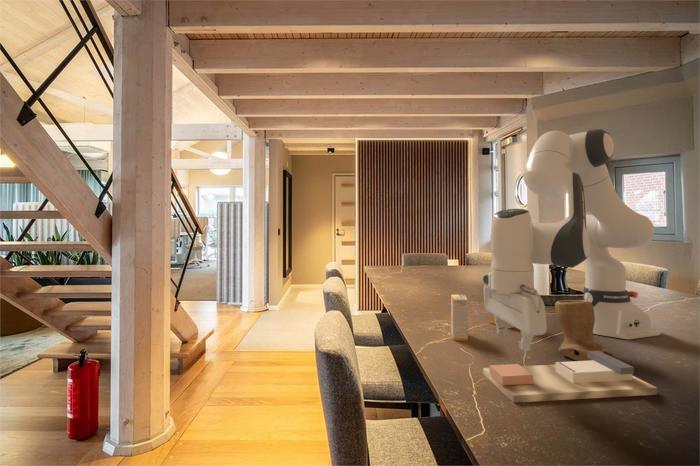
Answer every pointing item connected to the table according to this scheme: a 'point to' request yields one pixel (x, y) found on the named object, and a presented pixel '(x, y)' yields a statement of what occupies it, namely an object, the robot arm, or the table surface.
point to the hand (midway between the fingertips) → (512, 342)
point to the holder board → (568, 387)
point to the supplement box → (459, 317)
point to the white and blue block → (595, 369)
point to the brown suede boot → (577, 328)
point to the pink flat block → (511, 374)
